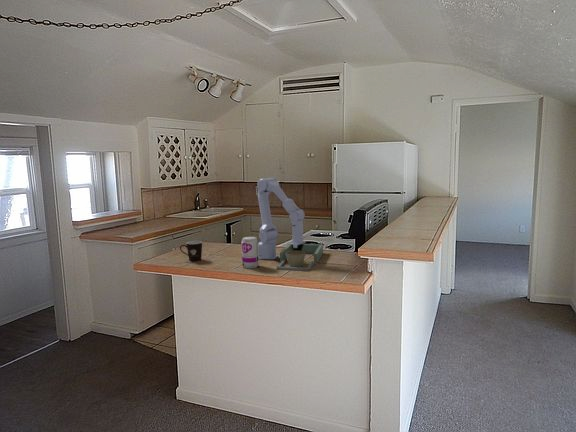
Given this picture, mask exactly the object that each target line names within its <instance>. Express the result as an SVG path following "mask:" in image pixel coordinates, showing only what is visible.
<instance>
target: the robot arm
mask: <svg viewBox="0 0 576 432" xmlns="http://www.w3.org/2000/svg"><path fill="white" fill-rule="evenodd" d="M256 185H257V186H256V187H257V193H256V194H257V199H258V206H259V212H260V219H261V225H262V226H260V228H259V235H258V236H259V240H260V241H258V260H275V259H277V257H278V258H279V255H278V254H277V249H276V248H277V247H276V246H277V245H276V242H277V240H278V238H279V232H278V230H277V226H276V225H275V224H273V221H272V213H271V208H270V200H269V195H270V194H271V193H274V195H275V196H276V197H278V199H279V200H280V201H281V202H282V207H283V208H284V210H285V211H286V212H287V213H288V214H289V220H290V222H291V244H293V245H292V248H293V250H294V251H302V248H303V246H304V244H306V241H307V240H306V241H305V240H304V219H305V217H306V214H305V211H304V210H303V209H302V208H300V207H298V206H297V205H296V203H295V202H294V199H292V198H288V196H287V194H285V192H284V190H283V189H282V188H281V186H280V182H279V180H277V178H275V177H268V178H265V177H264V178H260V179H259V180H258V181H257V183H256Z"/></svg>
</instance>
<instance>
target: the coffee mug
mask: <svg viewBox="0 0 576 432" xmlns="http://www.w3.org/2000/svg"><path fill="white" fill-rule="evenodd" d="M182 247H185V248H186V250H187V253H186V252H184V251H183V250H182ZM179 250H180V252H182V254H184V255H186V256H188V260H189V262H192V263H194V262H195V263H196V262H200V261H202V253H203V241H201V240H192V241H187V242H186V244H182V245H181V246H180V247H179Z"/></svg>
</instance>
